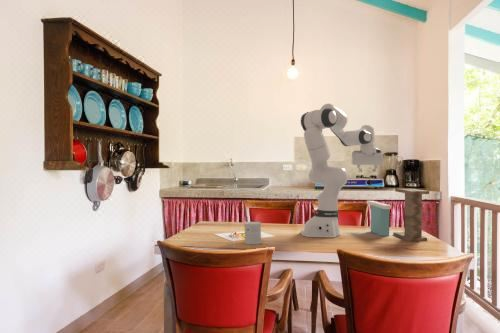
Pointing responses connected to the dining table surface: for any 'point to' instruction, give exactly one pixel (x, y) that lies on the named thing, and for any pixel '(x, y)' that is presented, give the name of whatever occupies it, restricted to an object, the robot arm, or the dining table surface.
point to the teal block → (380, 221)
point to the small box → (252, 232)
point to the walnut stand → (412, 215)
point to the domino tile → (379, 204)
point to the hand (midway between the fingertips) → (367, 171)
